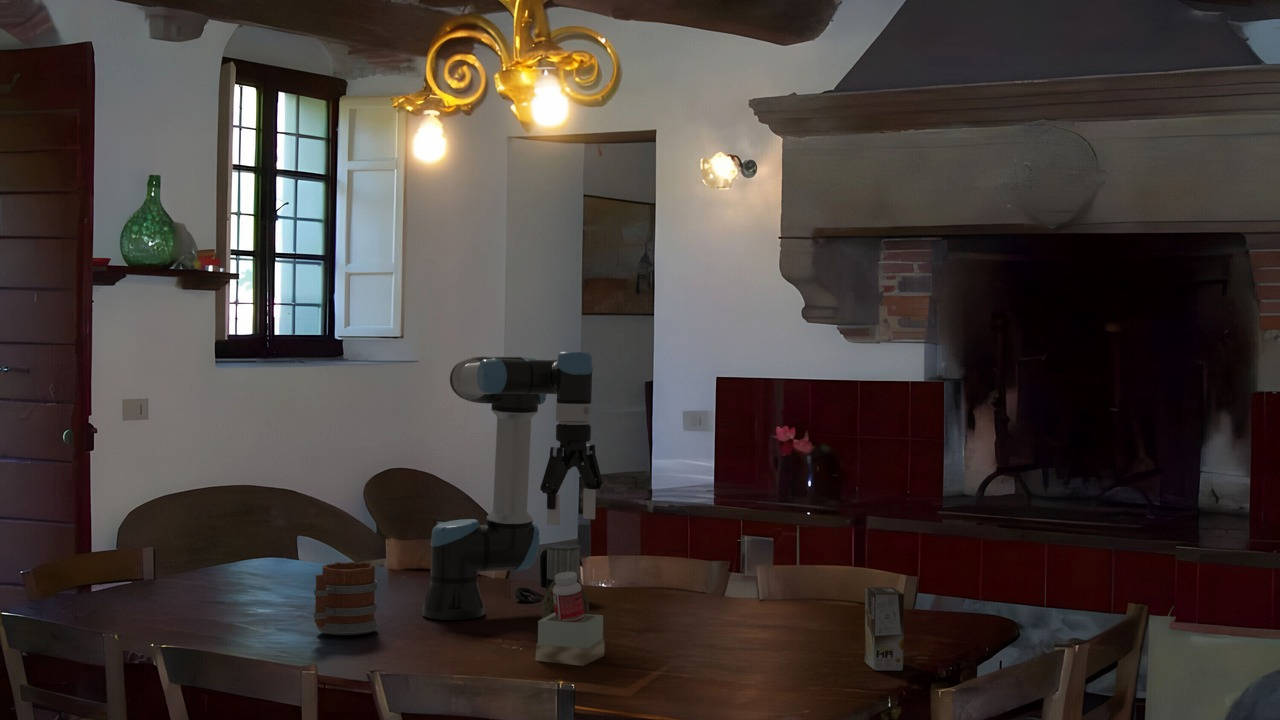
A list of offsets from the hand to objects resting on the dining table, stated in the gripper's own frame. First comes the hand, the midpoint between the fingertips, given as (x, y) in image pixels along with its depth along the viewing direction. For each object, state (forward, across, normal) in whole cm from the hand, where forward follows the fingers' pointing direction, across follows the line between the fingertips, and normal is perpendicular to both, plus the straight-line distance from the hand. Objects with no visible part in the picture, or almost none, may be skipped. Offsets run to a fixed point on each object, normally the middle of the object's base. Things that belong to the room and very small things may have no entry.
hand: (571, 521), depth 288 cm
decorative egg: (+29, +13, +10) cm, 33 cm away
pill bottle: (+22, -2, -2) cm, 22 cm away
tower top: (+25, -2, -2) cm, 25 cm away
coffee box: (+29, +30, -60) cm, 73 cm away
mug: (+29, -10, +57) cm, 65 cm away
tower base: (+29, -2, -2) cm, 29 cm away
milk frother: (+30, +51, +42) cm, 72 cm away
